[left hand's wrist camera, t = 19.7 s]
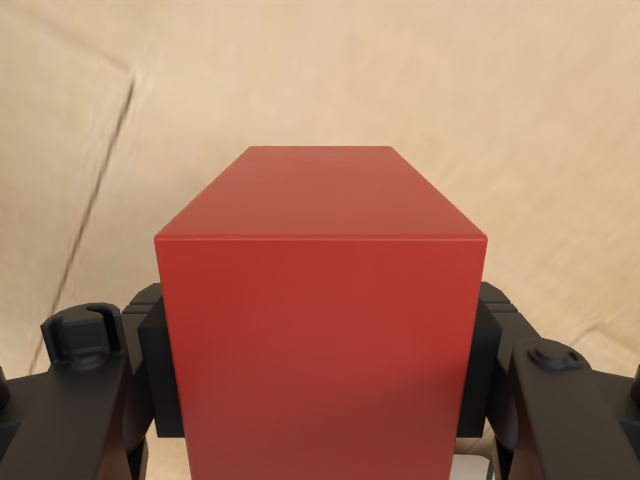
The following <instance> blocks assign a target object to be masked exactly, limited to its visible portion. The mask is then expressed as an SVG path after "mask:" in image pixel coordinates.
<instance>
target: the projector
mask: <svg viewBox="0 0 640 480" xmlns="http://www.w3.org/2000/svg"><path fill="white" fill-rule="evenodd" d="M488 465H489V460H488V459H486V458H485V457H483V456H479V455H457V454H453V461H452V467H451V473H450V479H449V480H486V476H487V470H488ZM492 480H495V476H494V473H493V478H492Z"/></svg>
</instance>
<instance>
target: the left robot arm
mask: <svg viewBox="0 0 640 480" xmlns="http://www.w3.org/2000/svg"><path fill="white" fill-rule="evenodd" d="M40 328H41V331H42V334H43V338H44V341H45V345H46V348H47V352H48V355H49V358H50V362H51V365H50V367H49V369H48V371H47V372H44V373H40V374H35V375H30V376H25V377H20V378H15V379H10V380H6V379H5V376H4V373H3V370H2V367H1V366H0V480H145V477H146V469H147V461H148V446H147V440H146V436H145V435H146V433H147V431H148V429H149V427H150V424H151V422H152V420H153V418H154V420H155V426H156V431H157V436H158V438H185V434H184V427H183V421H182V415H181V408H180V402H179V396H178V389H177V383H176V377H175V370H174V364H173V358H172V351H171V345H170V339H169V332H168V326H167V320H166V313H165V307H164V301H163V294H162V288H161V283H153V284H152V285H150V286H148V287H147V288H145V289H143V290H142V291H140V292H138V294H137V295H136V296H135V297H134V298H133V299H132V301H131V302H130V304H129V305H127V307H126V308H125V309H124V310H123V311H122V314H121V313H120V309H119V308H117V307H116V306H115V305H113V304H108V303H88V304H83V305H78V306H74V307H71V308H68V309H65V310H63V311H60V312H58V313H56V314H55V315H53V316H51V317H49V318H48V319H47V320H46V321H45V322H44V323H43V324H42V325H41V326H40ZM486 417H487V419H488V421H489V423H490V425H491V427H492V429H493V431H494V433H495V436H494V440H493V445H492V450H491V455H490V460H489V465H488V470H487V476H486V480H492V478H493V473H494V476H495V480H640V364H639V366H638V369H637V372H636V375H635V378H629V377H624V376H619V375H614V374H609V373H604V372H599V371H595V370H592V368H591V367H590V365H589V363H588V362H587V361H586V359H585V358H584V357H583V356H582V355H581V354H580V353H578V352H577V351H575V350H574V349H572V348H571V347H569V346H566V345H564V344H562V343H559V342H557V341H553V340H549V339H545V338H541V336H540V335H539V334H538V333H537V332H536V331H535V329H534V328H533V327H532V326H531V325H530V324H529V322H528V321H527V320H526V319H525V318H524V317H523V316H522V314H521V313H518V310H517V309H516V307H515V306H514V305H513V304H511V303H510V300H509V299H508V298H507V297H506V296H505V295H504V293H503V292H502V291H501V290H499V289H497V288H496V287H494V286H492V285H491V284H489V283H487V282H481V285H480V291H479V298H478V304H477V310H476V317H475V323H474V329H473V335H472V342H471V348H470V354H469V360H468V367H467V373H466V379H465V385H464V392H463V398H462V404H461V410H460V417H459V423H458V429H457V435H456V438H482V435H483V429H484V424H485V419H486Z"/></svg>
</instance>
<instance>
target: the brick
mask: <svg viewBox="0 0 640 480" xmlns="http://www.w3.org/2000/svg"><path fill="white" fill-rule="evenodd" d="M487 241H488V239H487V236H486V235H485V234H484V233H483V232H482V231H481V230H480V229H479V228H478V227H477V226H475V225H474V224H473V223H472V222H471V221H470V220H469V219H468V218H467V217H466V216H465V215H464V214H463V213H462V212H461V211H459V210H458V209H457V208H456V207H455V206H454V205H453V204H452V203H451V202H450V201H449V200H448V199H447V198H446V197H444V196H443V195H442V194H441V193H440V192H439V191H438V190H437V189H436V188H435V187H434V186H433V185H432V184H431V183H429V182H428V181H427V180H426V179H425V178H424V177H423V176H422V175H421V174H420V173H419V172H418V171H417V170H416V169H414V168H413V167H412V166H411V165H410V164H409V163H408V162H407V161H406V160H405V159H404V158H403V157H402V156H401V155H399V154H398V153H397V152H396V151H395V150H394V149H393V148H392V147H390V146H251V147H249V148H248V149H247V150H246V151H245V152H244V153H242V154H241V155H240V156H239V157H238V158H237V159H236V160H235V161H234V162H233V163H232V164H231V165H230V166H229V167H228V168H227V169H225V170H224V171H223V172H222V173H221V174H220V175H219V176H218V177H217V178H216V179H215V180H214V181H213V182H212V183H211V184H210V185H208V186H207V187H206V188H205V189H204V190H203V191H202V192H201V193H200V194H199V195H198V196H197V197H196V198H195V199H194V200H193V201H191V202H190V203H189V204H188V205H187V206H186V207H185V208H184V209H183V210H182V211H181V212H180V213H179V214H178V215H177V216H176V217H174V218H173V219H172V220H171V221H170V222H169V223H168V224H167V225H166V226H165V227H164V228H163V229H162V230H161V231H160V232H159V233H157V234H156V235H155V238H154V244H155V250H156V256H157V263H158V269H159V275H160V282H161V288H162V294H163V301H164V307H165V313H166V320H167V326H168V332H169V339H170V345H171V351H172V358H173V364H174V370H175V377H176V383H177V389H178V396H179V402H180V408H181V415H182V421H183V427H184V434H185V440H186V446H187V453H188V459H189V465H190V472H191V478H192V480H449V479H450V473H451V467H452V461H453V454H454V448H455V442H456V435H457V429H458V423H459V417H460V410H461V404H462V398H463V392H464V385H465V379H466V373H467V367H468V360H469V354H470V348H471V342H472V335H473V329H474V323H475V317H476V310H477V304H478V298H479V291H480V285H481V279H482V273H483V266H484V260H485V254H486V248H487Z"/></svg>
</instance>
